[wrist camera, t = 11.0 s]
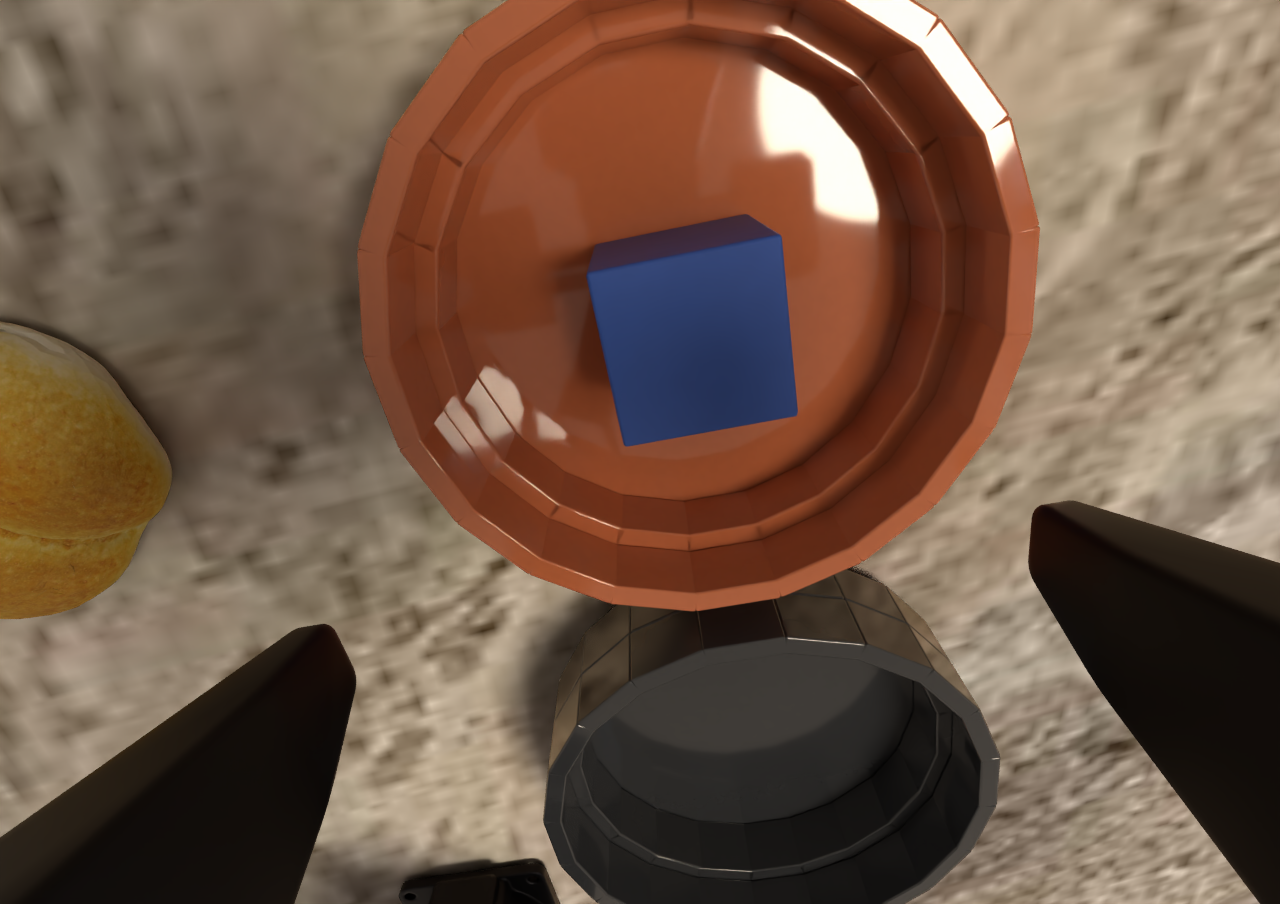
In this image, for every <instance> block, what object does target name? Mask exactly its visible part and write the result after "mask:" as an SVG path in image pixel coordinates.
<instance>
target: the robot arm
mask: <svg viewBox="0 0 1280 904" xmlns="http://www.w3.org/2000/svg"><path fill="white" fill-rule="evenodd" d="M1028 564H1029V570H1030V574H1031V576H1032V579H1033V581H1034V583H1035V584H1036V586H1037V588H1038V589H1039V591H1040V593H1041V594H1042V596H1043V598H1044V599H1045V601H1046V603H1047V604H1048V606H1049V608H1050V609H1051V611H1052V613H1053V614H1054V616H1055V618H1056V619H1057V621H1058V623H1059V624H1060V626H1061V628H1062V629H1063V631H1064V633H1065V634H1066V636H1067V638H1068V639H1069V641H1070V643H1071V644H1072V646H1073V648H1074V649H1075V651H1076V653H1077V654H1078V656H1079V658H1080V659H1081V661H1082V663H1083V664H1084V666H1085V668H1086V669H1087V671H1088V673H1089V674H1090V676H1091V677H1092V679H1093V680H1094V682H1095V683H1096V685H1097V687H1098V688H1099V689H1100V691H1101V692H1102V694H1103V695H1104V696H1105V698H1106V699H1107V701H1108V702H1109V703H1110V705H1111V706H1112V708H1113V709H1114V710H1115V712H1116V713H1117V714H1118V716H1119V717H1120V718H1121V720H1122V721H1123V722H1124V724H1125V725H1126V726H1127V727H1128V729H1129V730H1130V731H1131V733H1132V734H1133V735H1134V737H1135V738H1136V739H1137V741H1138V742H1139V743H1140V745H1141V746H1142V747H1143V749H1144V750H1145V751H1146V753H1147V754H1148V755H1149V757H1150V758H1151V759H1152V761H1153V762H1154V763H1155V765H1156V766H1157V767H1158V769H1159V770H1160V771H1161V773H1162V774H1163V775H1164V777H1165V778H1166V779H1167V781H1168V782H1169V783H1170V785H1171V786H1172V787H1173V789H1174V790H1175V791H1176V793H1177V794H1178V795H1179V797H1180V798H1181V799H1182V801H1183V802H1184V803H1185V805H1186V806H1187V807H1188V809H1189V810H1190V811H1191V813H1192V814H1193V815H1194V817H1195V818H1196V819H1197V821H1198V822H1199V823H1200V825H1201V826H1202V827H1203V829H1204V830H1205V831H1206V833H1207V834H1208V835H1209V837H1210V838H1211V839H1212V841H1213V842H1214V843H1215V845H1216V846H1217V847H1218V849H1219V850H1220V851H1221V853H1222V854H1223V855H1224V857H1225V858H1226V859H1227V861H1228V862H1229V863H1230V865H1231V866H1232V867H1233V868H1234V870H1235V871H1236V872H1237V874H1238V875H1239V876H1240V878H1241V879H1242V880H1243V882H1244V883H1245V884H1246V886H1247V887H1248V888H1249V890H1250V891H1251V892H1252V894H1253V895H1254V896H1255V898H1256V899H1257V900H1258V902H1259V903H1260V904H1280V563H1278V562H1274V561H1271V560H1268V559H1265V558H1261V557H1258V556H1255V555H1251V554H1248V553H1245V552H1242V551H1238V550H1235V549H1232V548H1228V547H1225V546H1222V545H1219V544H1215V543H1212V542H1209V541H1205V540H1202V539H1199V538H1196V537H1192V536H1189V535H1186V534H1182V533H1179V532H1176V531H1173V530H1169V529H1166V528H1163V527H1159V526H1156V525H1153V524H1150V523H1146V522H1143V521H1140V520H1136V519H1133V518H1130V517H1126V516H1123V515H1120V514H1117V513H1113V512H1110V511H1107V510H1103V509H1100V508H1097V507H1094V506H1090V505H1087V504H1084V503H1080V502H1077V501H1063V502H1057V503H1051V504H1045V505H1040V506H1039V507H1037V508H1036V509H1035V511H1034V513H1033V516H1032V523H1031V534H1030V546H1029V558H1028ZM355 689H356V675H355V671H354V668H353V666H352V664H351V662H350V660H349V658H348V655H347V653H346V651H345V649H344V647H343V645H342V643H341V641H340V639H339V637H338V635H337V633H336V632H335V630H334V629H333V628H332V627H331V626H330V625H327V624H319V625H313V626H307V627H301V628H297V629H295V630H293V631H291V632H290V633H288V634H287V635H286V636H284V637H283V638H281V639H280V640H279V641H277V642H276V643H274V644H273V645H272V646H270V647H269V648H267V649H266V650H264V651H263V652H262V653H260V654H259V655H257V656H256V657H255V658H253V659H252V660H250V661H249V662H248V663H246V664H245V665H243V666H242V667H240V668H239V669H238V670H236V671H235V672H233V673H232V674H231V675H229V676H228V677H226V678H225V679H223V680H222V681H221V682H219V683H218V684H216V685H215V686H214V687H212V688H211V689H209V690H208V691H207V692H205V693H204V694H202V695H201V696H199V697H198V698H197V699H195V700H194V701H192V702H191V703H190V704H188V705H187V706H185V707H184V708H183V709H181V710H180V711H178V712H177V713H175V714H174V715H173V716H171V717H170V718H168V719H167V720H166V721H164V722H163V723H161V724H160V725H158V726H157V727H156V728H154V729H153V730H151V731H150V732H149V733H147V734H146V735H144V736H143V737H142V738H140V739H139V740H137V741H136V742H134V743H133V744H132V745H130V746H129V747H127V748H126V749H125V750H123V751H122V752H120V753H119V754H118V755H116V756H115V757H113V758H112V759H110V760H109V761H108V762H106V763H105V764H103V765H102V766H101V767H99V768H98V769H96V770H95V771H94V772H92V773H91V774H89V775H88V776H86V777H85V778H84V779H82V780H81V781H79V782H78V783H77V784H75V785H74V786H72V787H71V788H69V789H68V790H67V791H65V792H64V793H62V794H61V795H60V796H58V797H57V798H55V799H54V800H53V801H51V802H50V803H48V804H47V805H45V806H44V807H43V808H41V809H40V810H38V811H37V812H36V813H34V814H33V815H31V816H30V817H29V818H27V819H26V820H24V821H23V822H21V823H20V824H19V825H17V826H16V827H14V828H13V829H12V830H10V831H9V832H7V833H6V834H4V835H3V836H2V837H0V904H294V903H295V900H296V897H297V894H298V891H299V888H300V885H301V883H302V880H303V877H304V874H305V871H306V868H307V865H308V862H309V859H310V856H311V853H312V850H313V847H314V845H315V842H316V839H317V836H318V833H319V830H320V827H321V824H322V821H323V818H324V815H325V812H326V808H327V805H328V802H329V798H330V795H331V791H332V787H333V783H334V779H335V775H336V771H337V767H338V762H339V758H340V754H341V750H342V745H343V741H344V737H345V733H346V728H347V724H348V720H349V715H350V711H351V707H352V703H353V698H354V694H355ZM399 898H400V900H401V902H402V903H403V904H560V903H559V901H558V898H557V896H556V893H555V891H554V888H553V886H552V883H551V881H550V878H549V876H548V873H547V871H546V869H545V867H544V866H542V865H541V864H537V863H530V864H523V865H516V866H509V867H502V868H494V869H487V870H480V871H473V872H466V873H458V874H451V875H444V876H437V877H430V878H422V879H415V880H409V881H405V882H404V883H403V884H402V886H401V890H400V893H399Z"/></svg>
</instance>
